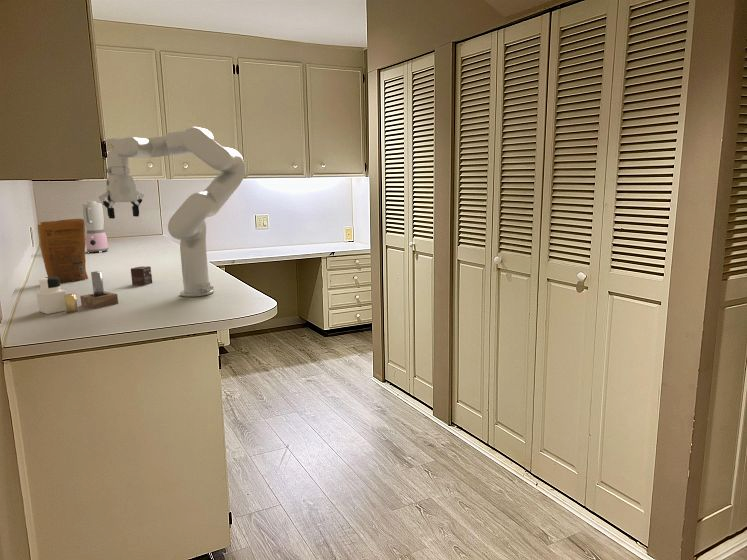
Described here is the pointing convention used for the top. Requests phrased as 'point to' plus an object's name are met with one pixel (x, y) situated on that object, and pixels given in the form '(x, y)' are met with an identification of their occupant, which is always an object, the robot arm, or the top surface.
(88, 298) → the hole block
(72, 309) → the short peg
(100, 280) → the long peg
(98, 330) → the top surface
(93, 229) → the blender
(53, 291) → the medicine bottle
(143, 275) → the box
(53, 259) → the pancake mix bag
